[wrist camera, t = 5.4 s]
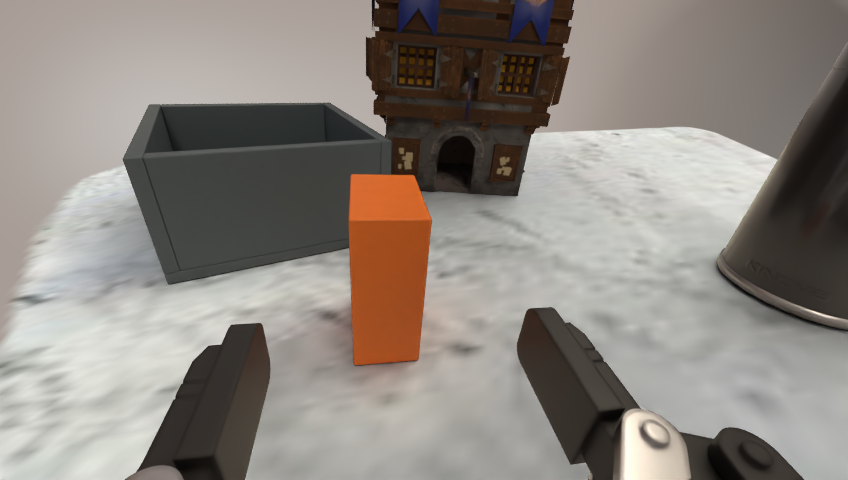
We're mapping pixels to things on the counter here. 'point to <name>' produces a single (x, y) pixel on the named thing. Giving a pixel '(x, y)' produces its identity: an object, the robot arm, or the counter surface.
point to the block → (387, 266)
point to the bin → (248, 182)
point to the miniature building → (466, 86)
